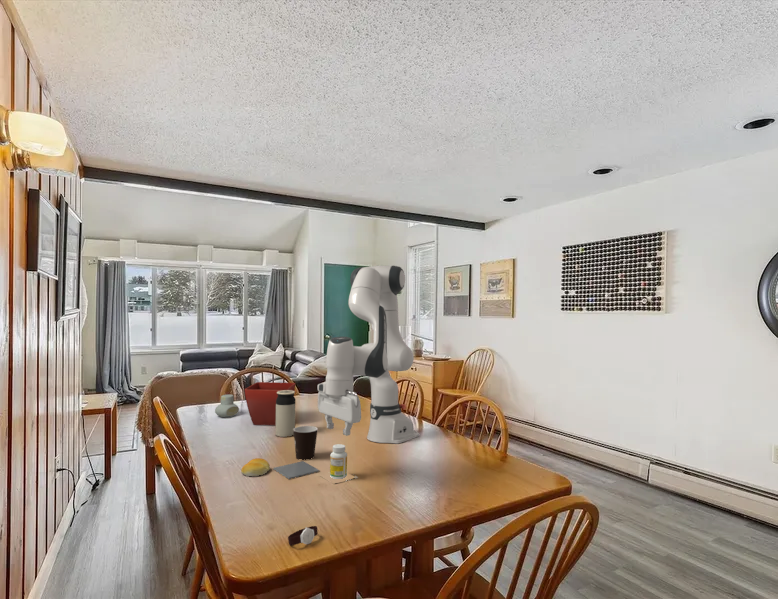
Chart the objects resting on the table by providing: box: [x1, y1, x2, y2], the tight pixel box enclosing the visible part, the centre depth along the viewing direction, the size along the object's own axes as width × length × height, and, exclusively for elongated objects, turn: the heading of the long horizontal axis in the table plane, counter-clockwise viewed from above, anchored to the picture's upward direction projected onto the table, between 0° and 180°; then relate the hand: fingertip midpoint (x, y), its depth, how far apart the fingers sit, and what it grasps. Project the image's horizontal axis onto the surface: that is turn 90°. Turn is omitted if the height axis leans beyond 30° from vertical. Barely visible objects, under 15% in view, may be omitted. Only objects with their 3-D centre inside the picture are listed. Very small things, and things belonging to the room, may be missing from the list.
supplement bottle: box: [329, 443, 348, 479], centre depth 145 cm, size 5×5×10 cm
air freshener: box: [214, 394, 240, 418], centre depth 221 cm, size 11×8×10 cm
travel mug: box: [275, 390, 296, 438], centre depth 191 cm, size 8×8×18 cm
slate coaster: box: [272, 460, 320, 480], centre depth 150 cm, size 11×11×1 cm
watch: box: [287, 525, 319, 546], centre depth 105 cm, size 8×5×4 cm, turn 139°
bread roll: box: [241, 457, 271, 477], centre depth 148 cm, size 8×9×4 cm
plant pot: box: [244, 381, 296, 426], centre depth 211 cm, size 19×19×17 cm
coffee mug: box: [293, 425, 318, 461], centre depth 165 cm, size 12×9×10 cm
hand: (338, 431), depth 145 cm, fingers open, 8 cm apart
